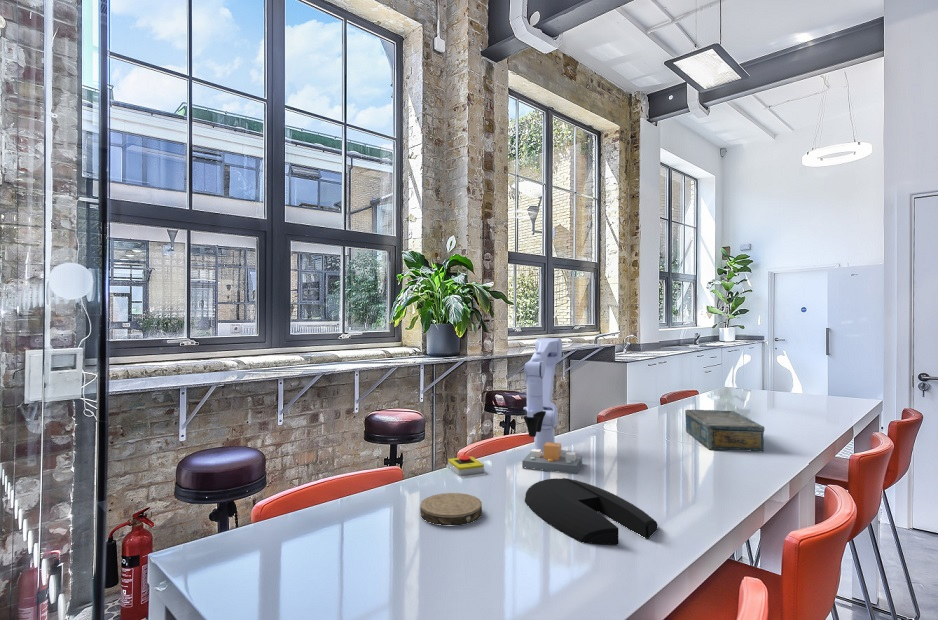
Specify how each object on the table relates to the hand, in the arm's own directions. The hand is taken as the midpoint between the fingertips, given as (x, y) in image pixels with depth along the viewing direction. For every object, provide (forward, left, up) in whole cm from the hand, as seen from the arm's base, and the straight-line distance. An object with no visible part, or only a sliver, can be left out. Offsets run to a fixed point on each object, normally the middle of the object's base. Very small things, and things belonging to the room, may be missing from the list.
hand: (535, 434), depth 183 cm
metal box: (-53, +64, -10) cm, 84 cm away
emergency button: (+18, -19, -10) cm, 28 cm away
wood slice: (+55, -9, -10) cm, 57 cm away
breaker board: (+4, +7, -9) cm, 12 cm away
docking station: (+42, +23, -10) cm, 48 cm away
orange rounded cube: (+3, +7, -7) cm, 10 cm away
